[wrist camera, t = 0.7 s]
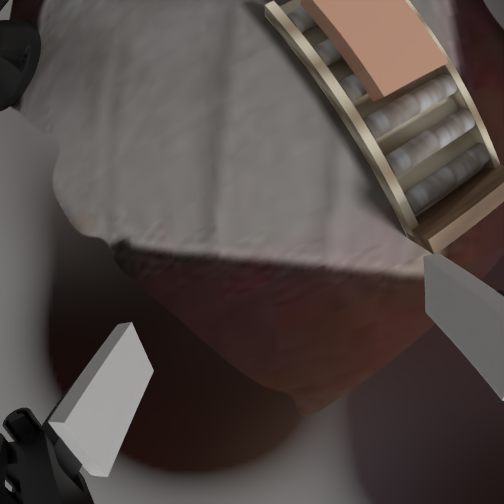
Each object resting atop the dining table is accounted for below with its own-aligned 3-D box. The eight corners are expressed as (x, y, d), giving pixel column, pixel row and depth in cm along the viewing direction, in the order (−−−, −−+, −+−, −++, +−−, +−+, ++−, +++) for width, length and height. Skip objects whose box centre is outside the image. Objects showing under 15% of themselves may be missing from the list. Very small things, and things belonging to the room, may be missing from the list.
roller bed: (264, 15, 31) (265, -13, 24) (368, -28, 28) (385, -55, 21) (407, 237, 38) (434, 254, 31) (491, 176, 35) (525, 182, 28)
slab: (300, 4, 28) (303, -10, 24) (366, -23, 26) (374, -36, 23) (373, 101, 31) (384, 96, 28) (434, 68, 29) (448, 62, 26)
